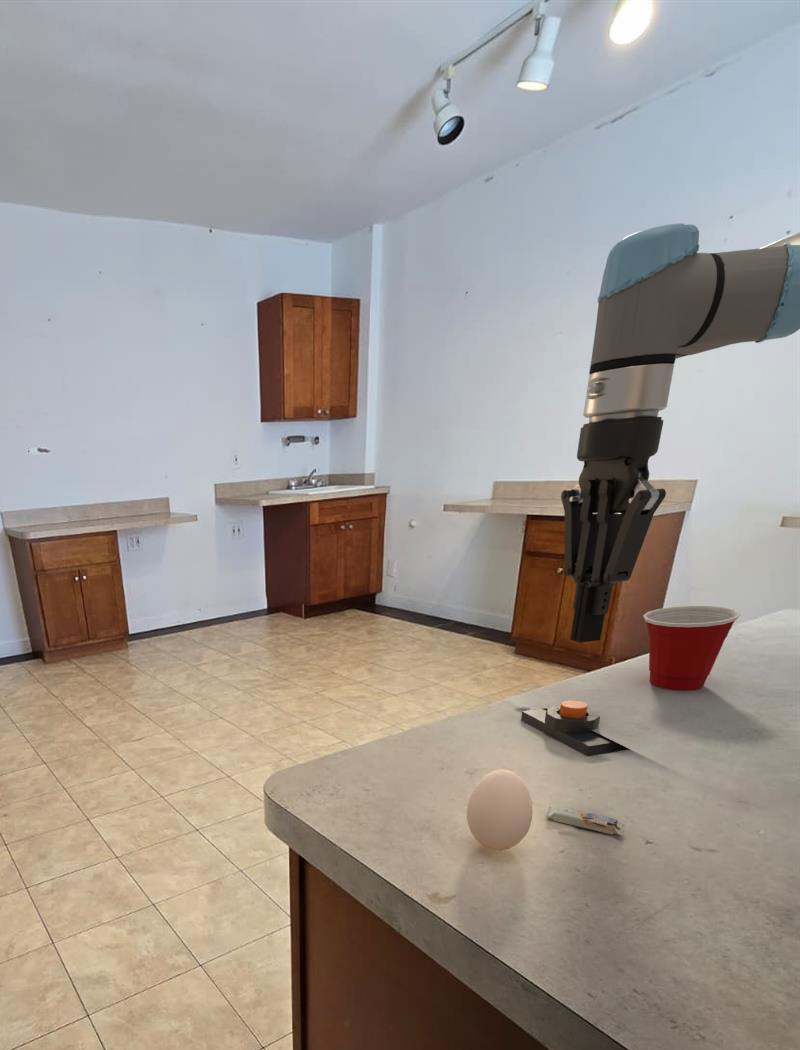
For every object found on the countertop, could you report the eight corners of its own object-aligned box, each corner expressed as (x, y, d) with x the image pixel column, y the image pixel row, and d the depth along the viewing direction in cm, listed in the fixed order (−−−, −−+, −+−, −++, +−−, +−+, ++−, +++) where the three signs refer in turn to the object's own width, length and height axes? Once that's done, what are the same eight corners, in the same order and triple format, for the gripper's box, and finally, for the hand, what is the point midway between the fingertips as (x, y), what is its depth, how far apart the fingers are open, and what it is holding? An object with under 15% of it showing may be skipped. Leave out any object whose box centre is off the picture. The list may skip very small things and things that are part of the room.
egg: (538, 860, 57) (551, 781, 54) (479, 866, 57) (488, 787, 54) (509, 829, 62) (519, 755, 59) (454, 835, 62) (461, 761, 59)
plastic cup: (617, 683, 98) (632, 605, 93) (696, 683, 96) (716, 602, 91) (644, 707, 88) (662, 621, 84) (733, 707, 86) (757, 618, 81)
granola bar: (543, 820, 63) (544, 811, 63) (549, 811, 65) (550, 802, 64) (620, 839, 59) (623, 829, 59) (625, 828, 61) (627, 819, 60)
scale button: (574, 710, 82) (576, 699, 82) (591, 718, 79) (593, 706, 79) (553, 713, 82) (555, 702, 81) (569, 721, 79) (571, 709, 78)
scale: (636, 704, 90) (641, 683, 89) (718, 736, 78) (724, 713, 77) (517, 721, 87) (520, 700, 86) (583, 757, 75) (587, 734, 74)
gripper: (549, 425, 72) (522, 632, 82) (639, 413, 60) (596, 656, 70) (607, 421, 73) (575, 625, 83) (708, 408, 61) (656, 648, 71)
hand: (585, 639), depth 77 cm, fingers closed
